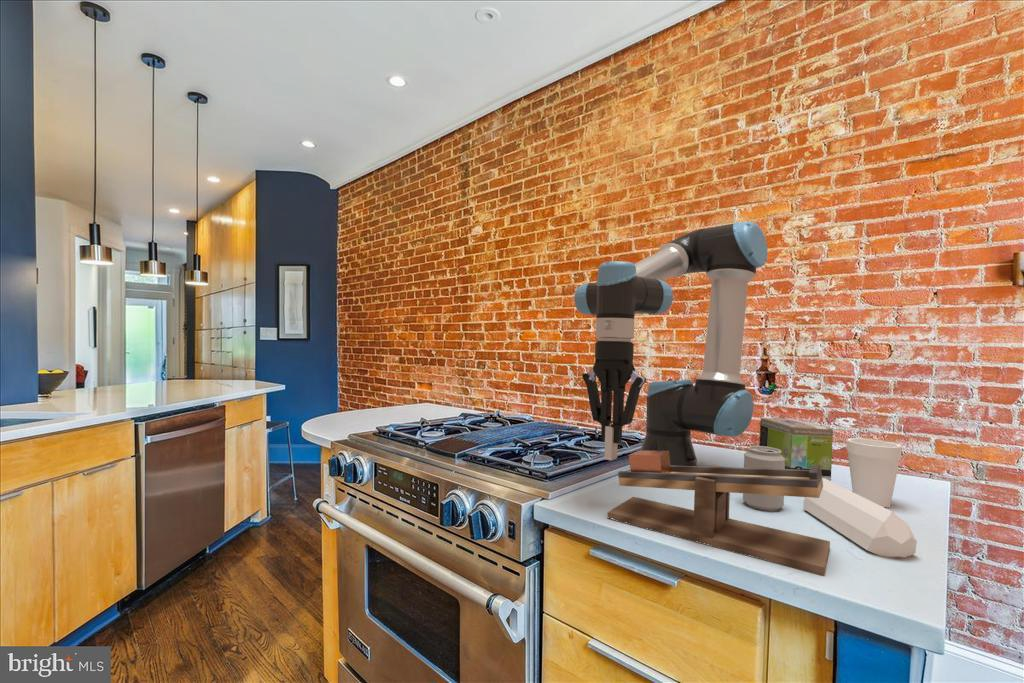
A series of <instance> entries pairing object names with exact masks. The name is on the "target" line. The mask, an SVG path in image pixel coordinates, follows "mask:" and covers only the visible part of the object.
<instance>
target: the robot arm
mask: <svg viewBox="0 0 1024 683" xmlns="http://www.w3.org/2000/svg"><path fill="white" fill-rule="evenodd" d="M767 260H768V244H767V239H766V237H765V235H764V232H763V230H762V228H761V227H760V226H759V225H758V224H757V223H756V222H754V221H742V222H738V221H737V222H734V223H729V224H724V225H717V226H711V227H707V228H699V229H696V230H692V231H689V232H687V233H685V234H683V235H681V236H678V237H677V238H674V239H673V240H670V241H669V242H667V243H665V244H663V245H662V246H660V247H659V248H658V250H657V252H655V253H653V254H651V255H649V256H647V257H645V258H643V259H641V260H639V261H637V262H635V263H633V262H631V261H623V260H621V261H620V260H618V261H617V260H616V261H606V262H605V261H604V262H603V263H601V264H600V265H599V266H598V269H597V280H596V282H588V283H583V284H580V285H579V286H578V287H577V288H576V290H575V292H574V296H573V299H574V300H573V301H574V305H575V308H576V310H577V311H578V312H579V313H580V314H582V315H585V316H590V315H591V316H595V317H596V318H595V338H596V339H598V340H597V341H595V343H594V364H593V366H592V369H591V370H589V371H588V372H587V373H586V372H585V373H583V374H582V377H581V378H582V380H583V382H584V384H585V386H586V389H587V396H588V401H589V407H590V413H591V418H592V421H594V422H596V423H598V424H600V426H601V429H600V431H601V432H600V435H601V436H600V440H601V442H604V460H606V461H607V460H608V461H614V460H616V459H617V458H618V444H621V443H622V439H623V427H624V426H626V425H630V424H631V423H633V419H634V414H635V411H636V408H637V404H638V400H639V397H640V394H641V390H642V387H643V386H644V385H645V383H646V382H647V379H646V377H645V376H641V375H640V374H638V373H637V372H636V368H635V366H634V349H635V348H634V346H635V345H634V343H633V341H632V340H633V339H635V315H636V314H637V315H638V314H639V315H640V314H641V315H644V314H645V315H646V314H647V315H649V316H651V315H662V314H665V313H666V312H667V311H668V310H669V309H670V308H671V306H672V304H673V301H674V292H673V289H672V287H671V286H670V285H669V283H667V280H669V279H670V278H671V279H674V278H676V279H677V278H679V277H681V276H683V275H686V274H695V273H697V274H698V273H706V274H705V275H706V277H707V278H708V279H709V280H710V281H711V286H710V295H709V306H708V314H707V315H708V317H707V325H706V327H707V329H706V337H705V346H704V348H705V349H704V356H703V366H702V373H701V374H699V375H698V376H697V377H696V378H695V384H694V383H693V380H692V379H679V380H661V381H657V380H655V381H652V382H650V383H649V384H648V385H647V393H646V418H645V419H646V420H645V421H646V422H645V423H646V426H645V430H646V432H645V437H644V439H643V441H642V444H641V448H640V450H642V451H669V455H670V464H671V465H676V466H698V460H697V455H696V451H695V449H694V445H693V441H692V439H691V438H692V435H691V434H692V431H694V432H697V433H698V432H699V433H704V434H710V435H715V436H718V437H730V438H735V437H739V436H741V435H743V433H745V431H746V429H748V427H749V425H750V423H751V421H752V418H753V414H754V409H755V402H754V398H753V397H754V396H753V394H751V392H750V391H748V390H746V383H745V381H744V380H743V379H742V377H741V376H740V375H741V374H740V372H741V365H742V364H741V363H742V353H743V341H744V334H745V333H744V330H745V323H746V320H745V319H746V311H747V301H748V300H747V298H748V289H749V283H750V282H751V281H752V280H753V279H755V278H756V275H757V274H756V273H757V269H758V268H762V267H763V266H764V265H766V263H767ZM597 379H598V381H599V383H600V392H601V395H600V392H599V387H598V383H597ZM630 379H631V380H630ZM629 381H630V384H631V385H630V387H629V389H628V390H629V391H628V395H627V397H626V398H627V399H626V403H625V392H626V385H627V384H628V382H629ZM600 396H601V398H600ZM624 403H625V404H624Z"/></svg>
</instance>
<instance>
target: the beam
mask: <svg viewBox="0 0 1024 683" xmlns="http://www.w3.org/2000/svg"><path fill="white" fill-rule="evenodd" d="M617 475H618V485H619V486H622V487H639V488H652V489H667V490H668V489H669V490H683V491H684V490H685V491H695V478H696V477H702V478H707V479H712V480H716V492H730V494H731V493H734V494H743V493H747V494H763V495H779V496H784V497H795V498H796V497H797V498H805V497H811V498H819V497H820V494H821V491H822V488H823V481H822V473H821V470H820V465H812V467H811V469H810V470H796V469H766V468H744V467H733V466H732V467H731V466H729V467H728V466H722V467H712V466H705V465H704V466H701V465H697V466H676V465H671V473H655V472H631V471H630V470H627V471H626V470H620V471H618V472H617Z"/></svg>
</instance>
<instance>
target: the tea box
mask: <svg viewBox="0 0 1024 683" xmlns="http://www.w3.org/2000/svg"><path fill="white" fill-rule="evenodd" d="M833 431H834V430H833V428H832V427H828V426H823V425H820V424H816V423H812V422H809V421H803V420H800V419H797V418H796V419H795V418H780V417H779V418H775V417H774V418H773V417H761V418H760V423H759V446H765V447H772V448H776V449H779V450H781V451H782V452H781V455H782V456H783V457H784V458H785V469H796V470H810V469H811V467H812V465H820V470H821V473H822V478H825V479H827V480H829V481H831V482H832V468H833V467H832V465H833V462H832V460H833V440H834V437H833V433H834V432H833Z"/></svg>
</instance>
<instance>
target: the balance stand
mask: <svg viewBox="0 0 1024 683" xmlns="http://www.w3.org/2000/svg"><path fill="white" fill-rule="evenodd" d="M711 467H723V466H722V465H717V464H713V465H711ZM730 494H731V492H716V480H712V479H707V478H702V477H696V478H695V490H694V496H693V497H694V501H693V502H694V504H693V509H690V508H689V509H688V508H684V507H681V506H677V505H671V504H667V503H663V502H658V501H655V500H649V499H646V498H645V499H644V498H640V497H637V496H631V497H630V498H628V499H627V500H625V501H624V502H622V503H620V504H619V505H617V506H615V507H614V508H612V509H611V510H609V511H608V512H607V518H608V517H609V518H613V519H615V520H618V521H617V522H619V521H622V522H627V523H630V524H633V525H632V526H634V525H637V526H640V527H639V528H641V527H644V528H643V529H645V528H648V529H647V530H649V529H652V530H651V531H653V530H656V531H659V532H658V533H660V532H665V533H668V534H671V535H670V536H672V535H675V536H679V537H682V538H681V539H683V538H686V539H685V540H687V539H690V540H694V541H698V542H701V543H700V544H702V543H705V544H704V545H706V544H709V545H712V546H711V547H713V546H716V547H715V548H717V547H720V548H719V549H721V548H723V549H722V550H724V549H726V551H728V550H730V551H729V552H732V551H734V552H733V553H736V552H738V553H737V554H740V553H742V554H741V555H743V554H746V555H745V556H747V555H751V556H754V557H753V558H755V557H758V558H757V559H759V558H762V559H766V560H769V561H768V562H770V561H772V562H771V563H774V562H775V564H777V563H779V564H778V565H781V564H782V565H781V566H784V567H785V566H786V567H789V568H793V569H796V570H801V571H804V572H808V573H812V574H816V575H819V576H823V577H824V576H825V575H826V570H827V564H828V559H829V555H830V550H831V541H830V540H826V539H821V538H817V537H812V536H807V535H803V534H798V533H795V532H791V531H786V530H782V529H777V528H773V527H769V526H764V525H759V524H756V523H752V522H745V521H742V520H737V519H733V518H730V501H731V500H730V499H731V498H730V496H731V495H730ZM615 520H614V521H615ZM622 522H621V523H622ZM630 524H629V525H630ZM637 526H636V527H637ZM656 531H655V532H656ZM668 534H667V535H668ZM675 536H674V537H675ZM679 537H678V538H679ZM690 540H689V541H690ZM694 541H693V542H694ZM698 542H697V543H698ZM709 545H708V546H709ZM751 556H750V557H751ZM762 559H761V560H762ZM766 560H765V561H766Z"/></svg>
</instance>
